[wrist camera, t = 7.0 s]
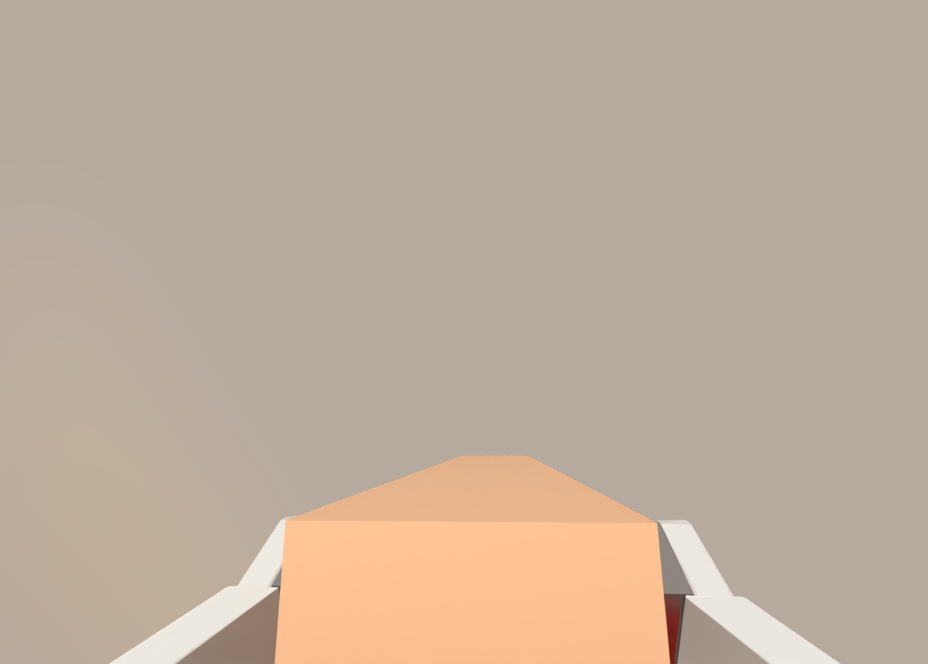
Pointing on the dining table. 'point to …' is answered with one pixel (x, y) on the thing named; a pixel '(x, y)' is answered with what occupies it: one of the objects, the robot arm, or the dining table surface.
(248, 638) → the robot arm
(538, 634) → the bar
